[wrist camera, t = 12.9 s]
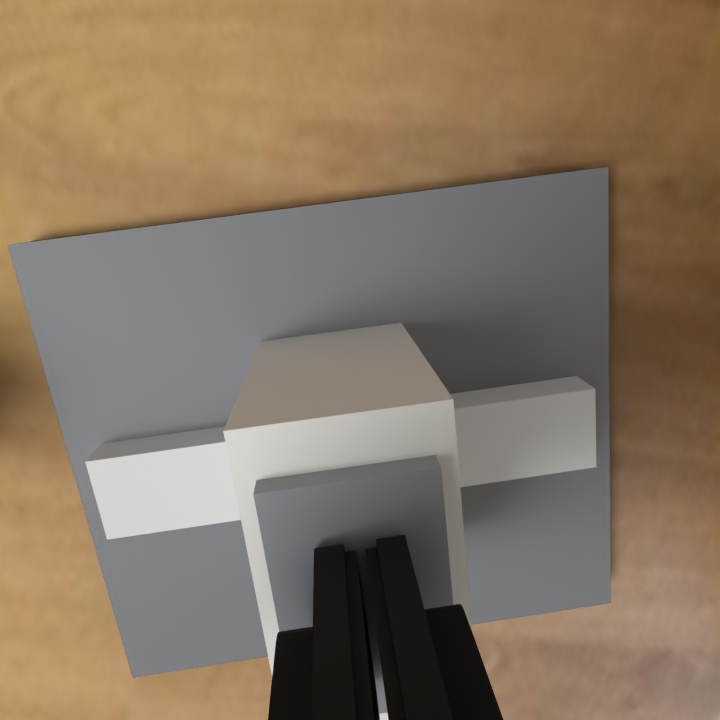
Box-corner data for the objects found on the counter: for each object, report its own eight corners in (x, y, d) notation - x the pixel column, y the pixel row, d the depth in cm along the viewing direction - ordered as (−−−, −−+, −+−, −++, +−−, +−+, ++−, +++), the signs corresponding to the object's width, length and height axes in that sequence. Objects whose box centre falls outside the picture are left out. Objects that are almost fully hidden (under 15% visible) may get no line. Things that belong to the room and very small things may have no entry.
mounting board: (29, 241, 16) (-19, 248, 14) (588, 169, 17) (631, 164, 14) (143, 649, 20) (120, 709, 18) (594, 580, 20) (629, 628, 18)
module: (259, 341, 16) (217, 442, 9) (401, 322, 16) (459, 409, 10) (297, 556, 18) (285, 769, 11) (423, 538, 18) (484, 737, 11)
